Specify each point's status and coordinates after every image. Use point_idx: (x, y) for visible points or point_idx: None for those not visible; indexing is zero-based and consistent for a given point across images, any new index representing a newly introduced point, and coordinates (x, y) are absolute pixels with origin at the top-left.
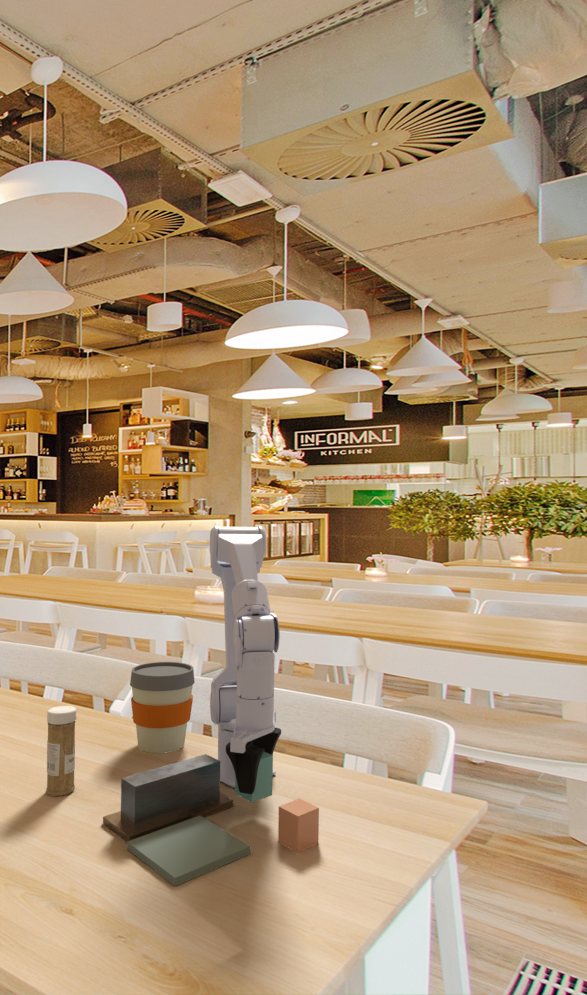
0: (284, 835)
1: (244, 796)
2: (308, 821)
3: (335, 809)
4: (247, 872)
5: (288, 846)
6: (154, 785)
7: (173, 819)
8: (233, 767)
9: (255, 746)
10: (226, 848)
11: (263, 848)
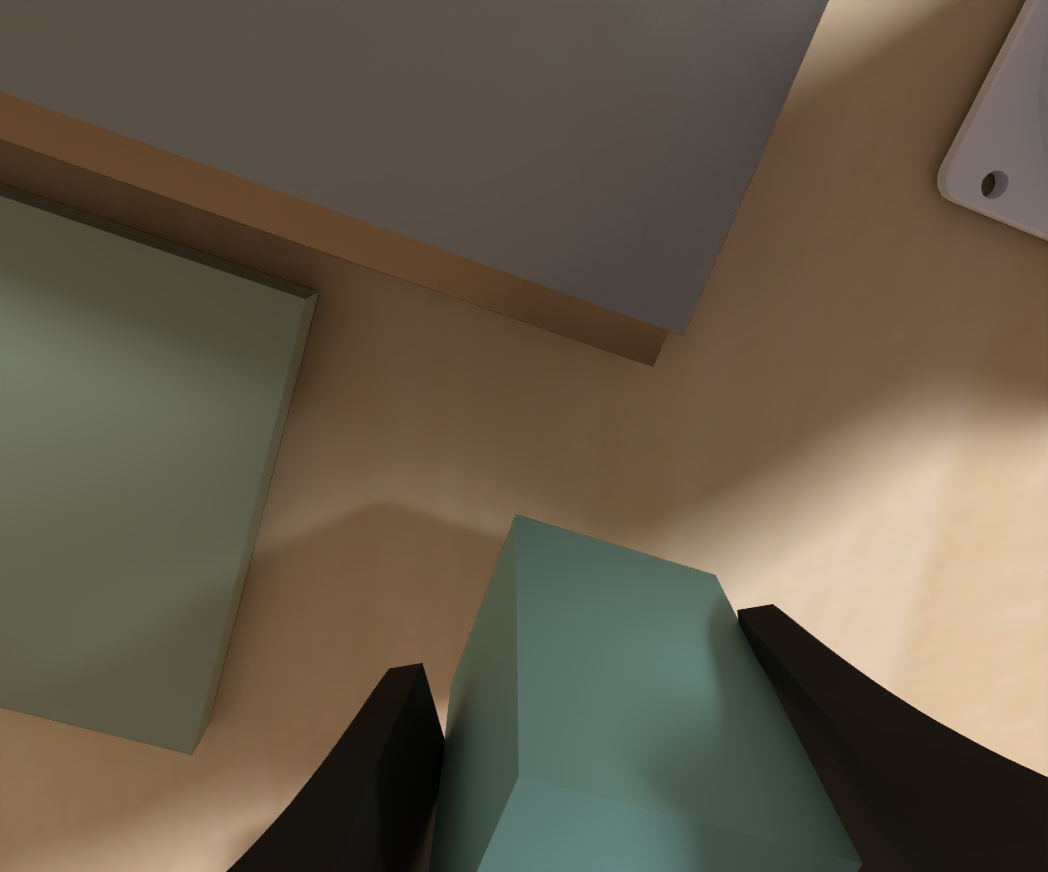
0: None
1: (476, 626)
2: None
3: None
4: (66, 788)
5: None
6: None
7: (131, 155)
8: (253, 844)
9: (886, 865)
10: (84, 673)
11: (292, 747)
